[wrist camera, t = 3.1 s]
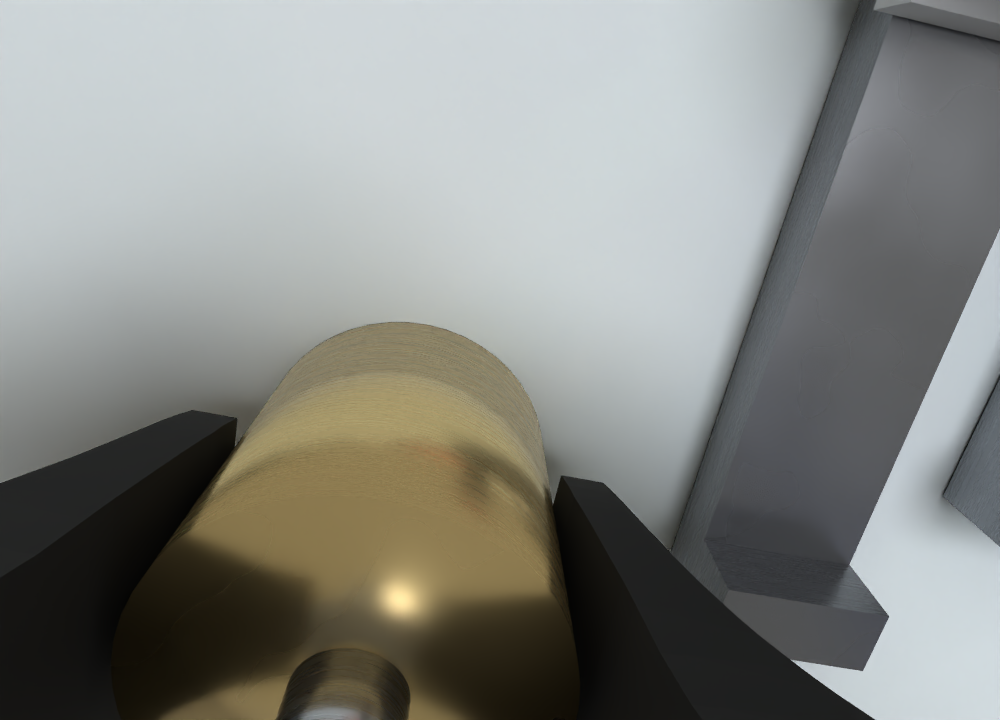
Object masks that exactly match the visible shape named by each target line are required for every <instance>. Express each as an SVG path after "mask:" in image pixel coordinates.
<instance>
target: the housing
mask: <svg viewBox="0 0 1000 720" xmlns="http://www.w3.org/2000/svg"><path fill="white" fill-rule="evenodd" d="M111 675H112V688H113V693H114V697H115V702H116V706H117V710H118V713H119V716H120V718H121V720H576V717H577V713H578V709H579V696H580V677H579V668H578V659H577V653H576V647H575V640H574V634H573V628H572V622H571V616H570V609H569V603H568V597H567V591H566V585H565V579H564V572H563V566H562V560H561V554H560V548H559V542H558V535H557V529H556V523H555V517H554V511H553V504H552V498H551V492H550V486H549V480H548V474H547V467H546V461H545V455H544V449H543V443H542V436H541V430H540V427H539V423H538V419H537V415H536V412H535V410H534V408H533V405H532V403H531V401H530V398H529V397H528V395H527V393H526V392H525V390H524V388H523V387H522V385H521V383H520V382H519V381H518V380H517V378H516V377H515V376H514V375H513V374H512V372H511V371H510V370H509V369H508V368H507V367H506V366H505V365H504V364H503V363H502V362H501V361H500V360H499V359H498V358H497V357H495V356H494V355H493V354H491V353H490V352H488V351H487V350H486V349H484V348H483V347H482V346H480V345H478V344H476V343H474V342H473V341H471V340H469V339H467V338H465V337H463V336H461V335H458V334H456V333H453V332H451V331H448V330H445V329H441V328H437V327H433V326H429V325H424V324H416V323H403V322H388V323H380V324H372V325H367V326H363V327H359V328H355V329H351V330H349V331H346V332H344V333H341V334H339V335H336V336H334V337H332V338H330V339H328V340H326V341H325V342H323V343H321V344H319V345H318V346H316V347H315V348H314V349H312V350H311V351H310V352H308V353H307V354H306V355H304V356H303V357H302V358H301V359H300V360H299V361H298V362H297V363H296V364H295V365H294V366H293V367H292V368H291V369H290V371H289V372H288V374H287V375H286V376H285V378H284V379H283V380H282V382H281V383H280V385H279V386H278V387H277V389H276V390H275V392H274V393H273V394H272V396H271V397H270V399H269V400H268V401H267V403H266V404H265V406H264V407H263V408H262V410H261V411H260V413H259V414H258V416H257V417H256V418H255V420H254V421H253V423H252V424H251V425H250V427H249V428H248V430H247V431H246V432H245V434H244V435H243V437H242V438H241V439H240V441H239V442H238V444H237V445H236V447H235V448H234V449H233V451H232V452H231V454H230V455H229V456H228V458H227V459H226V461H225V462H224V463H223V465H222V466H221V468H220V469H219V471H218V472H217V473H216V475H215V476H214V478H213V479H212V480H211V482H210V483H209V485H208V486H207V487H206V489H205V490H204V492H203V493H202V494H201V496H200V497H199V499H198V500H197V502H196V503H195V504H194V506H193V507H192V509H191V510H190V511H189V513H188V514H187V516H186V517H185V518H184V520H183V521H182V523H181V524H180V525H179V527H178V528H177V530H176V531H175V533H174V534H173V535H172V537H171V538H170V540H169V541H168V542H167V544H166V545H165V547H164V548H163V549H162V551H161V552H160V554H159V555H158V556H157V558H156V559H155V561H154V562H153V564H152V565H151V566H150V568H149V569H148V571H147V572H146V573H145V575H144V576H143V578H142V579H141V580H140V582H139V583H138V585H137V586H136V588H135V589H134V590H133V592H132V594H131V596H130V598H129V600H128V602H127V604H126V606H125V608H124V610H123V612H122V614H121V616H120V619H119V623H118V626H117V629H116V633H115V636H114V640H113V649H112V657H111Z"/></svg>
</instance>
